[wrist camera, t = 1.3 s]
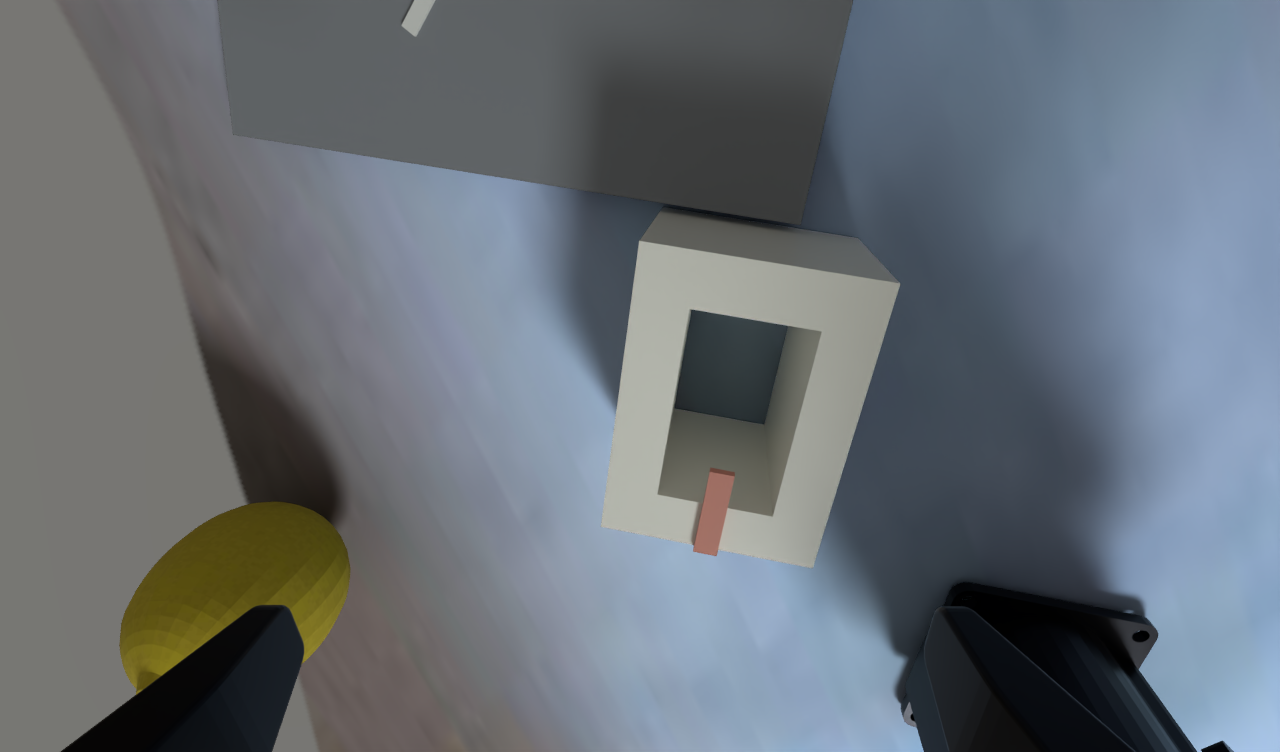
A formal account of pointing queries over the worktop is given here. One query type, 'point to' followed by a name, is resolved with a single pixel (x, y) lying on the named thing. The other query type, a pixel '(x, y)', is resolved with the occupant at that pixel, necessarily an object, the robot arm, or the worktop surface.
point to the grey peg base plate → (552, 90)
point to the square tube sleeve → (801, 397)
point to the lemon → (235, 584)
